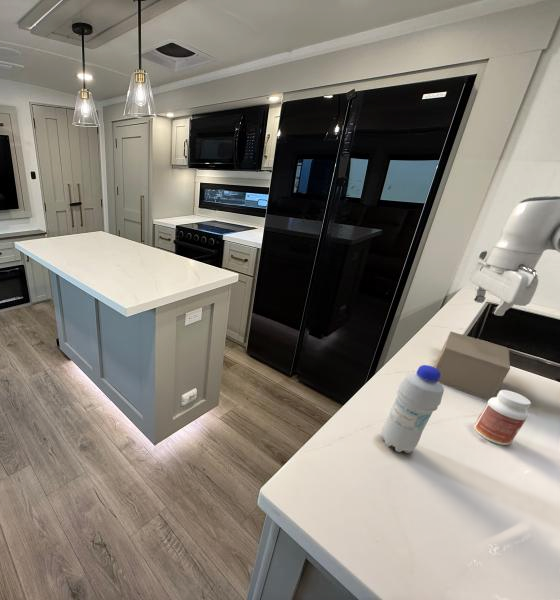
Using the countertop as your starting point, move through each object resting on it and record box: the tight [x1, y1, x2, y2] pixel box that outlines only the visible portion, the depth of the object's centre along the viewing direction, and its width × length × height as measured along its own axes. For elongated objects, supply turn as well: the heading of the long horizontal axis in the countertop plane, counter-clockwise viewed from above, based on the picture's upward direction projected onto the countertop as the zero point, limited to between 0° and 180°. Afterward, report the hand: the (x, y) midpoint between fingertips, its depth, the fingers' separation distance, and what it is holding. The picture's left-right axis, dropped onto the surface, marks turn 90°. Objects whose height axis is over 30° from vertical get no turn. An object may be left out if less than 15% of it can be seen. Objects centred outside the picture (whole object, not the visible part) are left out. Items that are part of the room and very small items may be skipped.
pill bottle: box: [473, 389, 532, 446], centre depth 69 cm, size 6×6×11 cm
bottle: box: [380, 364, 445, 454], centre depth 63 cm, size 7×7×20 cm
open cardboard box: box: [433, 331, 511, 402], centre depth 88 cm, size 15×13×11 cm
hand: (487, 307), depth 87 cm, fingers open, 8 cm apart
